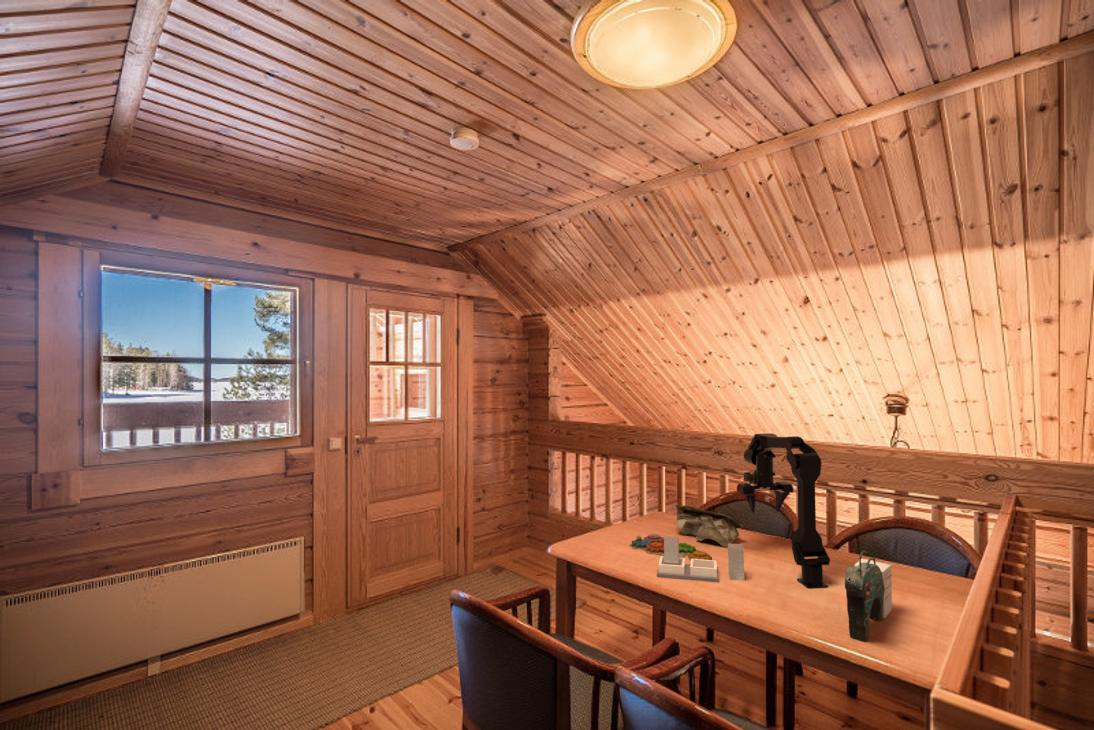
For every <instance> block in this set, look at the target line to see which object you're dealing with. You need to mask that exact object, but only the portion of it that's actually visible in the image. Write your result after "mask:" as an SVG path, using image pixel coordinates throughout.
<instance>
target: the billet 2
mask: <svg viewBox="0 0 1094 730" xmlns="http://www.w3.org/2000/svg"><path fill="white" fill-rule="evenodd" d="M744 550H745V549H744V544H741V543H733V544H730V543H728V548H727V553H728V554H727V558H728V560H727V561H728V578H729V581H741V582H742V581H745V551H744Z"/></svg>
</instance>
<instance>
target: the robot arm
mask: <svg viewBox="0 0 1094 730" xmlns="http://www.w3.org/2000/svg"><path fill="white" fill-rule="evenodd" d="M775 449H785V450H786V455H785V458H786V460H787V462H788V464H789V466H790V468H791V469H790V471H791V474H792V475H793V477H794V479H795V480H796V482H797V483H796V484H797V521H798V525H797V528H796V529H795V530H792V531H791V550H792V556H793V560H794V563H795V565H797V566H800V567H801V577H797V578H796V580H797V582H799V583H800V584H801V585H803V586H804V587H806V588H807V589H813V588H828V587H829V585H828V584H827V583H825V582H824V580H823V579H824V578H823V577H824V576H823V574H824V571H823V569H824V568H823V566H829V565H830V563H831V558H830V556H829V554H828V552H827V551H826V548H825V547H824V544H823V538H822V536H821V534H819V532H818V530H817V523H816V522H817V518H816V517H817V515H816V510H817V509H816V482H817V480H818V479H819V478H820V476H821V473H822V465H823V464H822V462H823V461H822V459H821V457H820V456H819V454H818V452H817V451H816V450H815V448H813V447H812V446H811V445H809V444H807V443H806V442H805V441H804V439H803V438H802V437H800V436H796V435H795V436H778V435H777V434H776V433H775V434H774V433H772V432H770V433H769V432H768V433H755V434H753V437H752V438H751V441H750V443H749V444H748V447H747V448H746V449H745V451H744V453H743V459H744V461H745V462H746V463H749V464H751V465H754V466H755V469H754V470H753V474H752V473H751V472H750V471H747V472H743V481H744V482H745V483H744V482H743V483H741V482H740V483H737V486H736V491H737V493H740V494H741V495H743V496H744V497H745V498H746V500H747V503H748V506H749V509H750V511H751V512H752V513H753V514H754V513H755V510H756V494H755V492H757V491H758V492H762V491H764V492H765V491H773V492H774V494H775V511H776V512H779V511H780V510H781V507H782V506H783V503H784V502H785V500H786V499H787V498H788V496H790V495H791V493H794V486H793V484H792V483H789V482H788V481H775V483H774V476H776V472H775V471H774V459H775V458H777V457H776V454H775V453H774V452H773V451H772V450H775ZM792 450H799V451H800V452H801V453H794V452H793V451H792ZM746 482H747V483H746ZM816 557H817V558H816Z"/></svg>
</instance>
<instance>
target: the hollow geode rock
mask: <svg viewBox="0 0 1094 730" xmlns="http://www.w3.org/2000/svg"><path fill="white" fill-rule="evenodd" d="M675 507H676V509H677V511H679V512H678V513H676V524H677V527H678V529H679V531H680V532H682V533H683V534H684V535H686V536H687V535H693V536H694V537H695V538H696V539H697V540H698V541H701V542H702V541H705V540H707V539H708V540H712V541H715V542H717V544H720V546H721V547H723V548H727V549H728V543H730V544H734V542H735V539H738V538H739V536H740V533H739V531H738V529H743V528H744V527H743V524H741V523H740V522H738V521H737V520H736V519H734V518H732V517H730V516H729V515H726V514H722V513H720V512H719V513H717V512H715V511H710V510H706V509H702V508H698V507H694V506H690V505H678V504H675Z"/></svg>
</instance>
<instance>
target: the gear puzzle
mask: <svg viewBox="0 0 1094 730" xmlns="http://www.w3.org/2000/svg"><path fill="white" fill-rule="evenodd" d="M664 538H665V537H664V536H660V534H655V533H651V534H648V535H646V536H645V537H644V538H643V539H642V536H641V535H637V536H636V539H635V540H631V543H630V544H629V545H628V546H629V547H631V549H632V550H640V551H644V552H645V554H649V555H656V556H659V557H661V556H664ZM687 556H688V558H689V560H691V559H703V560H713V557H712V556H711V554H710V553H707V552H706V551H703V550H698V549H696V546H694V545H692V544H688V543H687V542H679V558H685V559H686V557H687Z"/></svg>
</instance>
